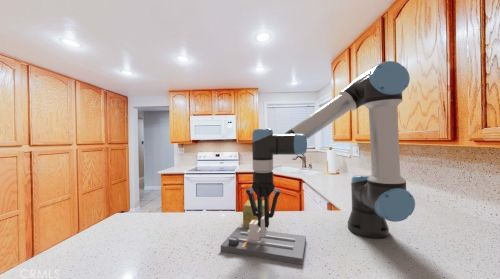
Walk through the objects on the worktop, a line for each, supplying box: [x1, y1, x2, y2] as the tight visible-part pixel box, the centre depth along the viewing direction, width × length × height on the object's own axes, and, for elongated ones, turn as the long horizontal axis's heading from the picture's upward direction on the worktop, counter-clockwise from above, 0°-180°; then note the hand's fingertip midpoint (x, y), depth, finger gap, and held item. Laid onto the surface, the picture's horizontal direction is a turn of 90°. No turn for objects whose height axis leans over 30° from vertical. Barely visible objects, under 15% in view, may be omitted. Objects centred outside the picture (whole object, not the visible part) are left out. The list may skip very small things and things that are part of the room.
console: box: [220, 226, 307, 266], centre depth 77 cm, size 28×16×4 cm, turn 71°
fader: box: [248, 220, 261, 241], centre depth 79 cm, size 4×4×6 cm
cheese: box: [242, 199, 265, 229], centre depth 97 cm, size 10×11×10 cm
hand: (263, 235), depth 77 cm, fingers closed
